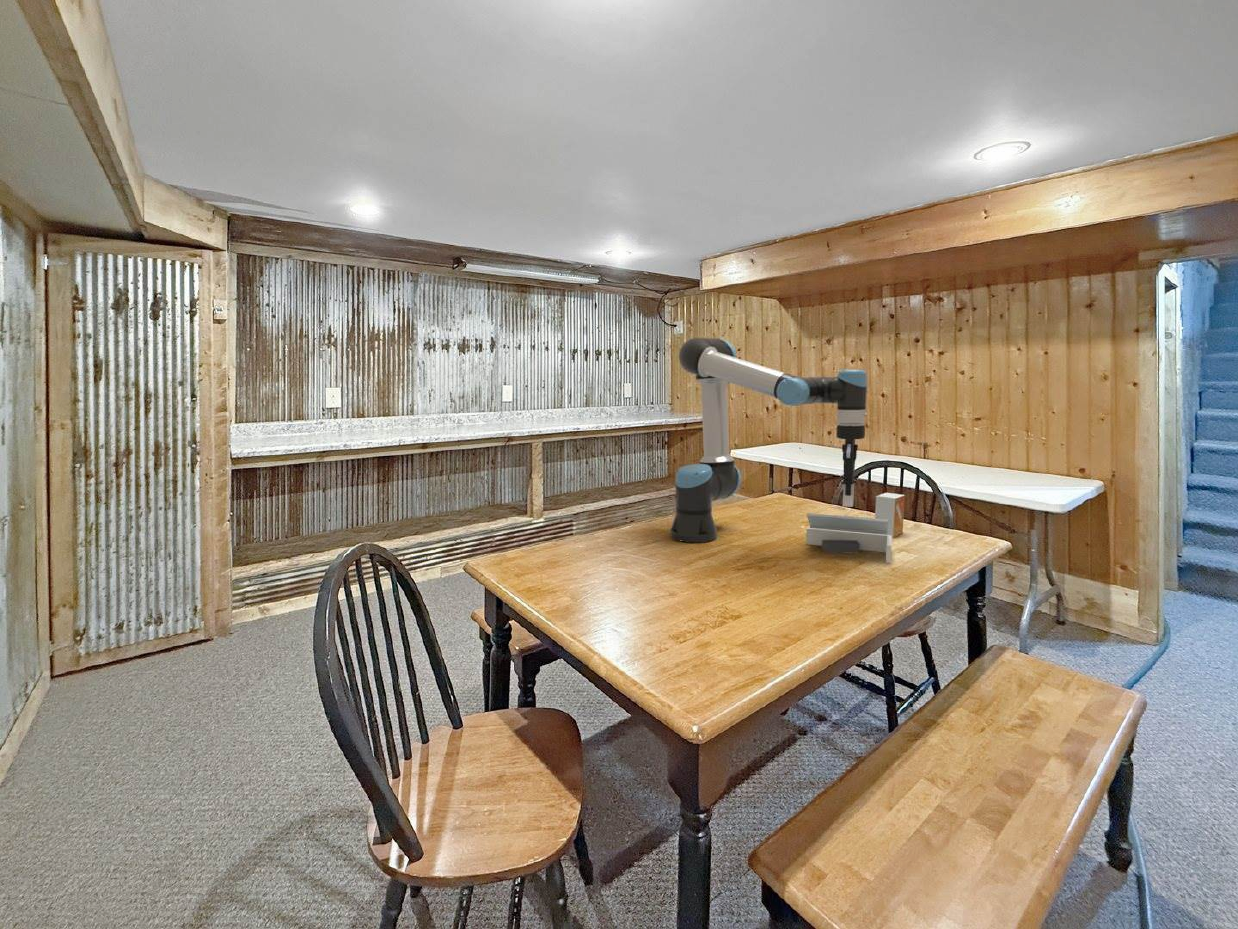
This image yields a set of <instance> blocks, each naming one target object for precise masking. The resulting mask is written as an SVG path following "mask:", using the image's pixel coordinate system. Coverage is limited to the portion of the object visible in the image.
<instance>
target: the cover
mask: <svg viewBox="0 0 1238 929" xmlns="http://www.w3.org/2000/svg"><path fill="white" fill-rule="evenodd" d="M806 517H807V519H808V522H809V528H815V529H826V530H837V531H849V532H860V533H871V534H882V535H888V519H876V518H875V517H861V516H860V517H859V516H847V515H839V514H838V515H836V514H824V513H814V512H813V513H810V512H806Z"/></svg>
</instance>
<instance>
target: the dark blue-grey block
mask: <svg viewBox="0 0 1238 929" xmlns="http://www.w3.org/2000/svg"><path fill="white" fill-rule="evenodd" d="M859 547H860V544H859V543H858V542H857V541H846V540H822V546H821V550H822V551H823V553H843V552H859V553H860V550H859Z"/></svg>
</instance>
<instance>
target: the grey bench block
mask: <svg viewBox="0 0 1238 929" xmlns="http://www.w3.org/2000/svg"><path fill="white" fill-rule="evenodd" d="M805 533H806V535H805V536H806V537H805V540H806V541H805V544H806V545H809V546H818V547H819V546H820V547H822V540H846V541H857V542H858V543H859V544H860V547H859V551H868V552H869V551H870V552H877V553H878V552H879V553H885V564H891V562H892V561H891V560H892V559H891V558H892V557H891V556H892V541H893V538H892V535H882V534H871V533H860V532H849V531H837V530H826V529H815V528H810V527H806V532H805Z"/></svg>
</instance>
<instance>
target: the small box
mask: <svg viewBox="0 0 1238 929" xmlns="http://www.w3.org/2000/svg"><path fill="white" fill-rule="evenodd" d="M905 498H906V495H905V494H899V493H892V492H884V493H881V494H879V495H875V509H874V510H875V511H874V512H875V513H874V518H876V519H888V535H892V539H893V538H895V537H897V536H900V535H901V534H903V533H904V532H903V530H904V517H905V516H904V514H905ZM899 534H900V535H899Z"/></svg>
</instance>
